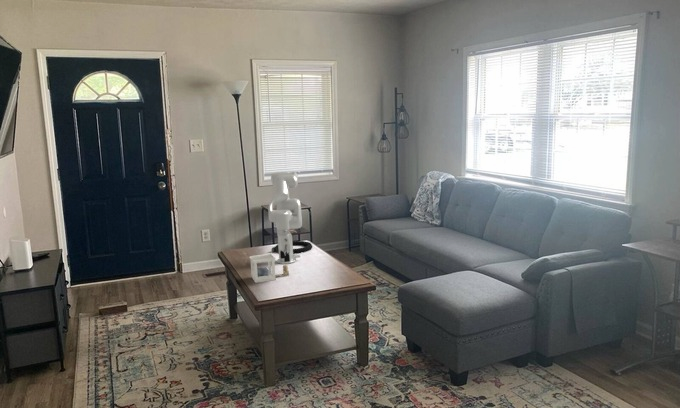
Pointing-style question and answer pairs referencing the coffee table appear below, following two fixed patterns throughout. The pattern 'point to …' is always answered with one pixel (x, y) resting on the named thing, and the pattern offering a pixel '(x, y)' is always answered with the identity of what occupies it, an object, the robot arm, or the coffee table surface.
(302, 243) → the cable lock
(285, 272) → the block
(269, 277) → the white open frame box
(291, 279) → the coffee table surface
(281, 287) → the coffee table surface
